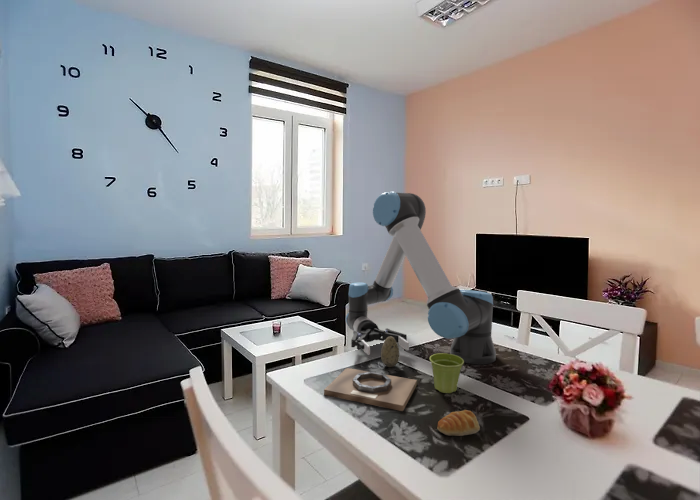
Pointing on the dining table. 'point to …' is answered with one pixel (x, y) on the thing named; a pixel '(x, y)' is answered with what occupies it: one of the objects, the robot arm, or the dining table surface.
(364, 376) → the ring socket
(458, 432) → the pastry
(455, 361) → the plant pot
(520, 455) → the dining table surface
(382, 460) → the dining table surface
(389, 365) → the decorative egg
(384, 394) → the walnut board
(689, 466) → the dining table surface
